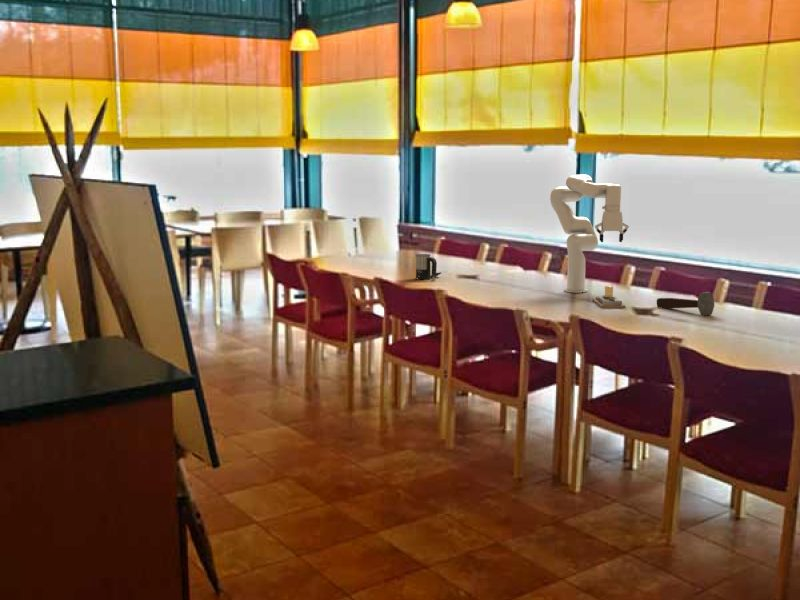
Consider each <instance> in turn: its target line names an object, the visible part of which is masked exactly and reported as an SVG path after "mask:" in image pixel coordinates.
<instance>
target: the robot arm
mask: <svg viewBox="0 0 800 600" xmlns="http://www.w3.org/2000/svg"><path fill="white" fill-rule="evenodd" d="M565 180H566V181H565V185H566V186H558V187H555V188H553V189H552V190H551V192H550V199H549V201H550V204H551V207H552V209H553V211H554V212H555V213H556V215H557V218H558V220H559V222H560V225H561V228H562V230H563V232H564V233H565V234H566V235H569V236H567V238H566V249H567V273H566V274H567V278H566V279H567V280H566V281H567V282H566V287H564V288H563V291H564V292H566V293H572V294H573V293H574V294H576V293H577V294H579V293H580V294H581V293H582V292H583V293H587V292H588V289H587V288H585V285H586V284H585V283H586V263H587V262H586V256H585V254H584V253H583V252H585V251H586V252H588V251H594V250H596V249H597V247H598V246H599V241H600V243H604V233H605V232H619V236H618V242H619V243H623V241H624V235H625V233H626V232H627V231H628V229H629V227H630V225H628V224H626V223H624V222H623V213H622V211H621V198H622V197H621V196H622V186H621V185H620V184H617V183H616V184H614V183H609V182H606V183H605V182H603V183H602V182H600V183H599V182H598V183H597V182H596V183H595V182H594V181H593V178H592V177H591V176H590V175H588V174H573V175H570V176H568V177H567V178H566V179H565ZM584 197H585V198H590V199H605V201H604V202H605V204H604V206H602V207H601V209H602V210H604V211H603V213H602V217H601V222H600V223H597V224H595V225H594V226H593V225H592V223H591V222H592V221H591V220H589V218H587V217H586V216H576V215H575V213H574V211H573V209H572V208H571V207H570V206H569V205H568V203H575V202H579V201H580V200H582V198H584ZM600 227H601V229H600ZM623 227H624V229H623ZM594 228H595V229H594ZM596 232H597V233H598V234H599V240H598V236H597V234H596Z"/></svg>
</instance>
